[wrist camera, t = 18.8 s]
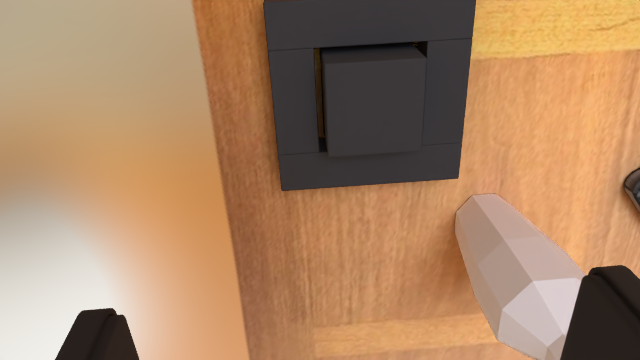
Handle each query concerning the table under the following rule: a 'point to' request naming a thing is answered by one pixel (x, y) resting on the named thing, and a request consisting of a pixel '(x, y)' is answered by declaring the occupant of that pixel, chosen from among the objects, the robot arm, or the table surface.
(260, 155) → the table surface
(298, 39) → the frame pad
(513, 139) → the table surface
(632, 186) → the phone
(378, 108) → the black square block
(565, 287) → the faceted bottle
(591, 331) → the robot arm
